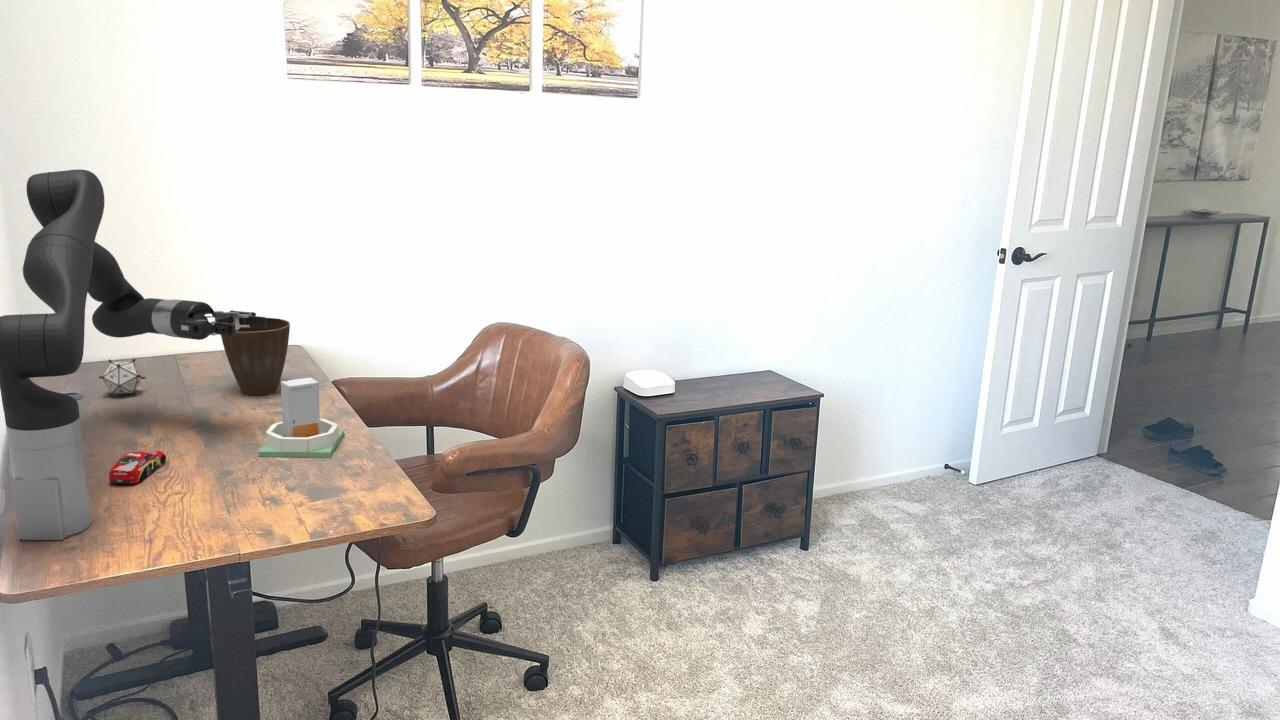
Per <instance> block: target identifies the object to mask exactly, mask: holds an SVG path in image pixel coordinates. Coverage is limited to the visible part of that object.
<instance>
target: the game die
mask: <svg viewBox="0 0 1280 720" xmlns="http://www.w3.org/2000/svg"><path fill="white" fill-rule="evenodd" d="M135 361H136V358H133V359H132V360H131V361H112V360H111V359H110V358H109V359H108V362H109V365H108V366H107V368H106V370H105V372H104V373H103V375H102V376H101V375H99V376H98V379H102V380H103V382H104V383H105V385H106V387H107V389H108V390H109V392H110V393H109V395H108V396H109V398H111V397H112V396H113V395H115V394H116V395H117V394H133V396H135V395H136V396H137V393H136V390H137V388H138V386H139V384H140V383H141V381H142V380H145V379H146V377H145V376H142V375H141V373H140V371H139V369H138V368H137V365H136V363H135Z"/></svg>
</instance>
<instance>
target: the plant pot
mask: <svg viewBox="0 0 1280 720" xmlns="http://www.w3.org/2000/svg"><path fill="white" fill-rule="evenodd" d="M266 319H267V327H266V328H253V327H250V328H249V327H240V328H239V329H238V330H235V335H233V336H228V335H220V337H221V341H222V345H223V348H224V351H225V355H226V358H227V361H228V364H229V366H230V368H231V372H232V373H233V376H234V378H235V381H236V383H237V385H238V387H239V389H240V391H241V392H242V394H243V393H244V394H243V395H245V394H247V395H246V396H250V395H262V396H268V395H271V393H272V394H274V393H276V392H277V390H278V387H279V384H280V383H281V379H282V375H283V372H284V368H285V363H286V359H287V354H288V353H287V352H288V349H289V347H288V346H289V342H290V341H289V339H290V330H291V329H290V328H291V323H290V321H289V320H286V319H282V318H275V317H266ZM234 325H235V324H234ZM267 394H268V395H267Z"/></svg>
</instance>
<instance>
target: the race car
mask: <svg viewBox="0 0 1280 720" xmlns="http://www.w3.org/2000/svg"><path fill="white" fill-rule="evenodd" d="M166 457H167V455H166V454H165V453H164V452H163V451H162V450H161V451H160V450H156V449H146V450H140V451H132V452H128V453H127V452H126V453H125V454H124V455H123V456H122V457H121V458H119V460H117V461H116V463H115V464H114V465H113V466H112V467H111V469H110V470H109V475H108V478H109V483H110V484H112V485H113V484H127V485H129V484H135V483H140V482H143V481H145V480H146V479H147V477H149V476H150V475H151V474H152V473H154V472H155V471H156V470H158V469H159V468H160V467H161V466H163V465H164V464H166Z"/></svg>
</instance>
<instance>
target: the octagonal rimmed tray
mask: <svg viewBox="0 0 1280 720" xmlns="http://www.w3.org/2000/svg"><path fill="white" fill-rule="evenodd" d="M344 437H345V429H344V430H343V429H339V424H338V423H335V422H333V421H330V420H328V419H326V418H320V434H319V435H315V436H311V437H283V421H279V422H275V423H273V424H271V425H270V426H269V428H267V430H266V431H265V440H266V441H265V443H264V445H263V446H262V447H261V448H260V449H259V450H258V457H259V458H262V457H263V458H264V457H265V458H266V457H267V458H273V457H274V458H331V456H332V455H333V453H334V451H335V450H336V449H337V447H338V446H339V444H340V443H341V441H342V439H343V438H344Z"/></svg>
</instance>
